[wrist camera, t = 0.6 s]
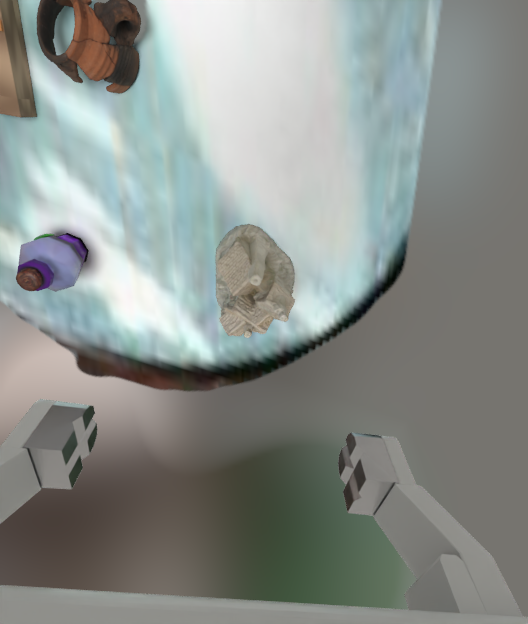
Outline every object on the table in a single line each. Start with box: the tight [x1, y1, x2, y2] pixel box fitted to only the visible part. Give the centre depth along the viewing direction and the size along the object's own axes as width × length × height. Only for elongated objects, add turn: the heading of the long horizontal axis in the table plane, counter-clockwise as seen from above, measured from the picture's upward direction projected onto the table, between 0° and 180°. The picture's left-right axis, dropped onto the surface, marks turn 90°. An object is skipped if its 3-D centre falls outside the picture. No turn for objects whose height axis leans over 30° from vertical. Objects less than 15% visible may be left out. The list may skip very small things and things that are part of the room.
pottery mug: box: [37, 0, 141, 93], centre depth 38 cm, size 12×10×8 cm
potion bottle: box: [16, 233, 88, 292], centre depth 50 cm, size 9×9×12 cm
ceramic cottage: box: [216, 224, 295, 338], centre depth 52 cm, size 16×16×15 cm
